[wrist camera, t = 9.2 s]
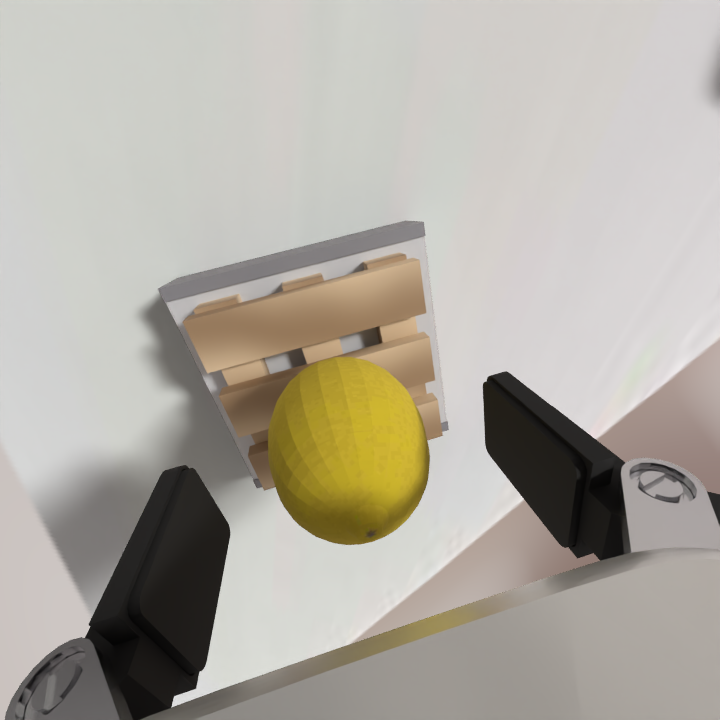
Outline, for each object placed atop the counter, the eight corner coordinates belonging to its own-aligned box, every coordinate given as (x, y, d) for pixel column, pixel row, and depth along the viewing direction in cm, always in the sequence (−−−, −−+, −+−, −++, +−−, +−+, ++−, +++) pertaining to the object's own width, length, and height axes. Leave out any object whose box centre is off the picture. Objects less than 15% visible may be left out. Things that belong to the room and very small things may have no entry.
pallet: (192, 305, 15) (180, 317, 13) (405, 250, 15) (419, 254, 14) (267, 469, 19) (265, 493, 17) (430, 420, 20) (442, 438, 18)
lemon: (325, 451, 17) (350, 626, 10) (247, 381, 15) (203, 545, 7) (411, 388, 16) (504, 525, 9) (344, 304, 14) (399, 401, 7)
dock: (177, 278, 16) (157, 288, 14) (405, 220, 17) (423, 221, 15) (260, 458, 22) (256, 488, 19) (432, 407, 22) (448, 429, 20)
